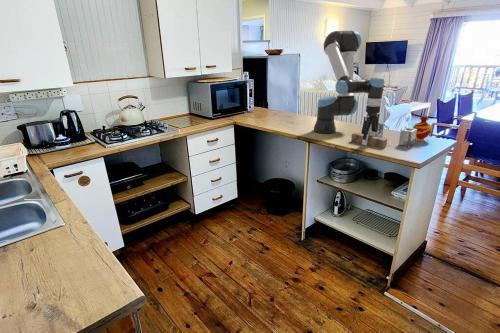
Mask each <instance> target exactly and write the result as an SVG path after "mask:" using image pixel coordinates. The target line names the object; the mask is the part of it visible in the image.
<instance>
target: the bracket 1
mask: <svg viewBox="0 0 500 333" xmlns="http://www.w3.org/2000/svg"><path fill="white" fill-rule="evenodd" d="M384 129H385V123H383V122H379V123H378V131H377V132H375V137H380V138H383V134H384ZM371 131H372V129H371V125H370V128H369V131H368V135H370V132H371Z"/></svg>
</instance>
